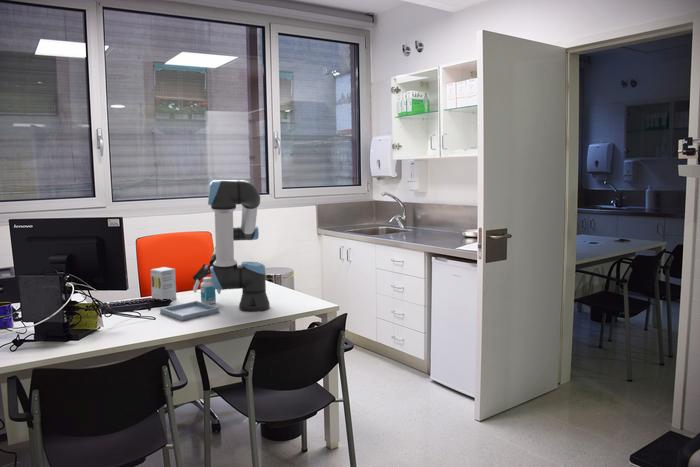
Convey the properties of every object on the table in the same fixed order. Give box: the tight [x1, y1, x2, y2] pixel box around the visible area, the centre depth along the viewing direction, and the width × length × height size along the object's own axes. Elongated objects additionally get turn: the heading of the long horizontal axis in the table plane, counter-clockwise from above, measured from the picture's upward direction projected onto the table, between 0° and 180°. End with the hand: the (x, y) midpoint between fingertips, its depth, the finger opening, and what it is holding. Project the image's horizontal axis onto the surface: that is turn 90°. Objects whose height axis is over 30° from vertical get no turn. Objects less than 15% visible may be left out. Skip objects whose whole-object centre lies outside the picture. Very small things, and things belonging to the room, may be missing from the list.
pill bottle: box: [199, 276, 217, 305], centre depth 282 cm, size 8×7×14 cm
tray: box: [159, 300, 220, 322], centre depth 264 cm, size 20×20×2 cm
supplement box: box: [150, 266, 177, 301], centre depth 289 cm, size 10×9×17 cm
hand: (206, 291), depth 280 cm, fingers open, 13 cm apart
